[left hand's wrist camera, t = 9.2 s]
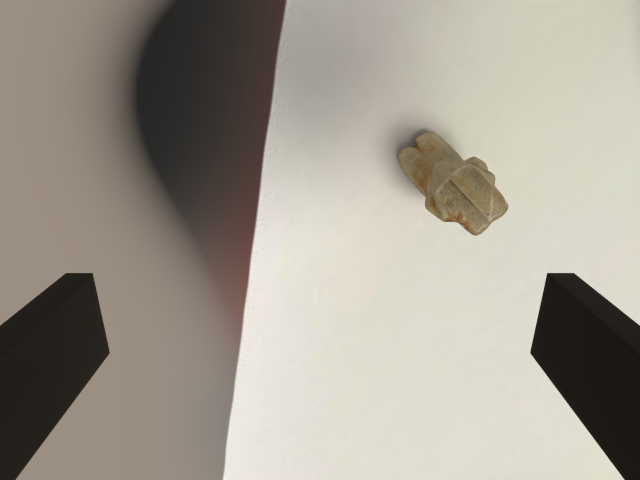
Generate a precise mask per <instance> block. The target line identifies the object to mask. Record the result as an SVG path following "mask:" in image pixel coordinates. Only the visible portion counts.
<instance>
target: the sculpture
mask: <svg viewBox="0 0 640 480" xmlns="http://www.w3.org/2000/svg"><path fill="white" fill-rule="evenodd" d="M415 142H416V147H406V148H404V149H403V150H402V151H401V153H400V155H399V158H398V160H399V164H400V166H401V168H402V169H403V171H404V172H405V174H406V175H407V176H408V178H409V179H410V180H411V181H412V183H413V184H414V185H415V186H416V187H417V188H418V190H419V191H420V192H421V193H422V194H423V195H424V196H425V197H426V200H425V207H426V209H427V210H428V211H429V212H431V213H432V214H434V215H435V216H437V217H438V218H439V219H441V220H442V221H444V222H457V223H459V224H460V225H461V226H462V227H464V228H465V229H466V230H467V231H468V232H470V233H471V234H473V235H476V236H477V235H479V234H481V233H482V232H483V231H485V230H486V229H487V228H488V226H489V225H490V224H491V223H492V222H493V221H495V220H496V219H498V218H500V217H501V216H503V215H504V214H505V212H506V211H507V209H508V204H507V203H506V201H505V199H504V197H503V195H502V194H501V193H500V192H499V191H498V189H497V188H496V187H495V186H494V184H495V176H494V174H492V173H491V172H489V171H488V169H487V166H486V164H485V163H484V162H483V161H482V160H480V159H478V158H476V157H472V158H469V159H467V160H465V161H463V160H462V158H461V157H460V156H459V155H458V154H457V153H456V151H455V150H454V149H453V148H452V147H451V146H450V145H448V144H447V143H446V142H445V141H444V140H443V139H442V138H441V137H439V136H438V135H437V134H436V133H434V132H426V133H424V134H423V135H421V136H419V137H418V138H416V140H415Z"/></svg>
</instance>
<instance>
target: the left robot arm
mask: <svg viewBox="0 0 640 480" xmlns="http://www.w3.org/2000/svg"><path fill="white" fill-rule="evenodd" d="M109 353H110V352H109V347H108V343H107V338H106V333H105V329H104V324H103V319H102V315H101V310H100V305H99V301H98V296H97V291H96V287H95V282H94V277H93V274H92V273H66V274H65V275H63V276H62V277H61V278H59V279H58V280H57V281H56V282H54V283H53V284H52V285H51V286H49V287H48V288H47V289H46V290H44V291H43V292H42V293H41V294H39V295H38V296H37V297H36V298H34V299H33V300H32V301H31V302H29V303H28V304H27V305H26V306H24V307H23V308H22V309H21V310H19V311H18V312H17V313H16V314H14V315H13V316H12V317H11V318H9V319H8V320H7V321H6V322H4V323H3V324H2V325H1V326H0V480H15V479H16V478H17V477H18V475H19V474H20V473H21V471H22V470H23V469H24V467H25V466H26V465H27V463H28V462H29V461H30V459H31V458H32V457H33V455H34V454H35V453H36V451H37V450H38V449H39V447H40V446H41V444H42V443H43V442H44V441H45V439H46V438H47V436H48V435H49V434H50V432H51V431H52V430H53V428H54V427H55V426H56V424H57V423H58V422H59V420H60V419H61V418H62V416H63V415H64V414H65V412H66V411H67V410H68V408H69V407H70V406H71V404H72V403H73V402H74V400H75V399H76V397H77V396H78V395H79V394H80V392H81V391H82V389H83V388H84V387H85V385H86V384H87V383H88V381H89V380H90V379H91V377H92V376H93V375H94V373H95V372H96V371H97V369H98V368H99V367H100V365H101V364H102V363H103V361H104V360H105V359H106V357H107V356H108V355H109ZM530 353H531V355H532V356H533V357H534V359H535V360H536V361H537V363H538V364H539V365H540V367H541V368H542V369H543V371H544V372H545V373H546V375H547V376H548V377H549V379H550V380H551V381H552V383H553V384H554V385H555V387H556V388H557V389H558V391H559V392H560V394H561V395H562V396H563V398H564V399H565V400H566V402H567V403H568V404H569V406H570V407H571V408H572V410H573V411H574V412H575V414H576V415H577V416H578V418H579V419H580V420H581V422H582V423H583V424H584V426H585V427H586V428H587V430H588V431H589V432H590V434H591V435H592V436H593V438H594V439H595V441H596V442H597V443H598V445H599V446H600V447H601V449H602V450H603V451H604V453H605V454H606V455H607V457H608V458H609V459H610V461H611V462H612V463H613V465H614V466H615V467H616V469H617V470H618V471H619V473H620V474H621V475H622V477H623V478H624V479H625V480H640V326H639V325H638V324H637V323H636V322H634V321H633V320H632V319H631V318H629V317H628V316H627V315H626V314H624V313H623V312H622V311H621V310H619V309H618V308H617V307H616V306H614V305H613V304H612V303H611V302H609V301H608V300H607V299H606V298H604V297H603V296H602V295H601V294H599V293H598V292H597V291H596V290H594V289H593V288H592V287H591V286H589V285H588V284H587V283H586V282H584V281H583V280H582V279H581V278H579V277H578V276H577V275H575V274H574V273H547V277H546V282H545V287H544V291H543V296H542V301H541V305H540V310H539V315H538V319H537V324H536V329H535V333H534V338H533V343H532V347H531V352H530Z"/></svg>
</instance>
